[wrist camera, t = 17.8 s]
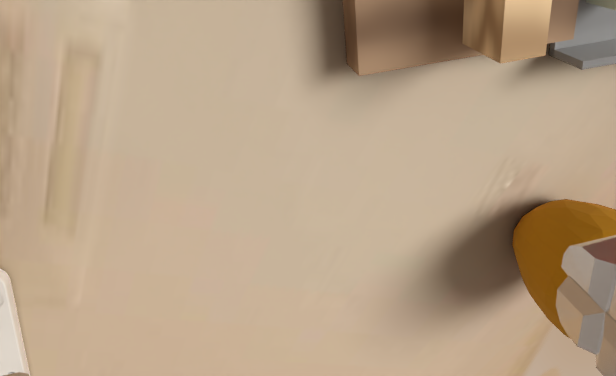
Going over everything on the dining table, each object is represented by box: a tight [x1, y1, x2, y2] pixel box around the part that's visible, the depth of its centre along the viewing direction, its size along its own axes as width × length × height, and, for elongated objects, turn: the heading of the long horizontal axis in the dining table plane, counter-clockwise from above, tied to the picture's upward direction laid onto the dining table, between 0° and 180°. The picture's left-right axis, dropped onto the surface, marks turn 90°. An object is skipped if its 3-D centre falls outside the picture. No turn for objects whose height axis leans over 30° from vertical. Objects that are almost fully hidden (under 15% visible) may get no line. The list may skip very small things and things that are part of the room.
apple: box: [512, 199, 616, 339], centre depth 45 cm, size 11×11×13 cm
